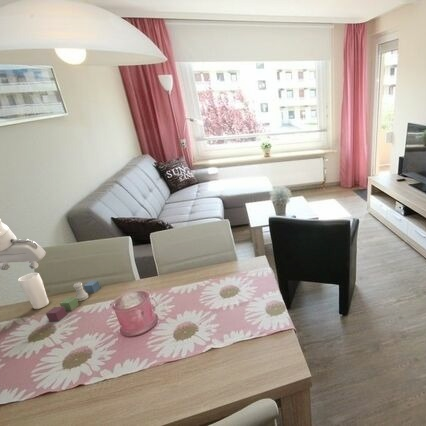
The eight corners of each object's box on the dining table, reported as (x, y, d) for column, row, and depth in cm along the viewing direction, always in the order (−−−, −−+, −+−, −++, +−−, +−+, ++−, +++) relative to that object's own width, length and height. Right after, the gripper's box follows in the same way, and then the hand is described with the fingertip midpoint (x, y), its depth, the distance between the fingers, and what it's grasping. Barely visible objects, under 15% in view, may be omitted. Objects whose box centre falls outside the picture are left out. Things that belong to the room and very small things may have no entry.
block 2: (71, 310, 125) (68, 302, 123) (62, 311, 125) (59, 303, 123) (79, 304, 128) (76, 297, 127) (70, 305, 129) (67, 297, 127)
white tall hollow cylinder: (27, 310, 127) (13, 280, 122) (43, 300, 133) (30, 272, 128) (39, 311, 126) (26, 281, 121) (55, 301, 132) (43, 272, 127)
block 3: (94, 292, 137) (91, 285, 136) (86, 293, 137) (83, 285, 136) (100, 287, 141) (98, 280, 139) (92, 288, 141) (89, 280, 139)
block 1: (58, 321, 119) (55, 313, 117) (49, 321, 119) (45, 313, 117) (67, 314, 122) (63, 306, 121) (57, 314, 122) (54, 307, 121)
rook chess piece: (79, 302, 130) (72, 287, 127) (75, 299, 132) (69, 284, 130) (90, 297, 133) (85, 282, 131) (87, 294, 136) (81, 279, 133)
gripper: (37, 232, 100) (57, 259, 109) (-31, 234, 98) (-5, 262, 106) (25, 245, 95) (47, 273, 104) (-47, 248, 93) (-18, 276, 101)
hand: (20, 267), depth 105 cm, fingers open, 8 cm apart
